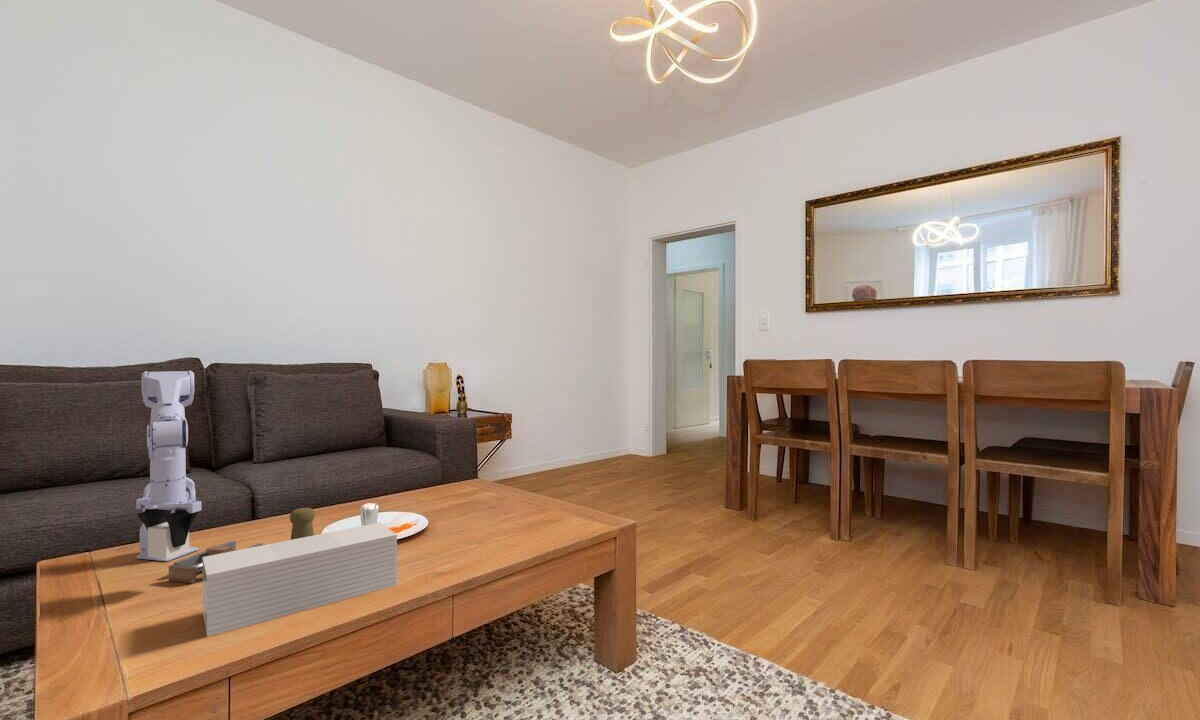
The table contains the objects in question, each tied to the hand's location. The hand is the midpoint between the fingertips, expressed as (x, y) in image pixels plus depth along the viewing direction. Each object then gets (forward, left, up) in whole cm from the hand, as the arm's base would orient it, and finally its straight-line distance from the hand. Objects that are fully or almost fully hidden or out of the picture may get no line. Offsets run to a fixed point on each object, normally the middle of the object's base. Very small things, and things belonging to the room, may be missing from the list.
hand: (169, 544), depth 111 cm
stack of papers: (+31, +2, -9) cm, 33 cm away
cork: (+13, +21, -9) cm, 27 cm away
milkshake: (+22, +34, -9) cm, 42 cm away
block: (0, 0, -2) cm, 2 cm away
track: (0, +11, -9) cm, 14 cm away
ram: (0, +7, -9) cm, 11 cm away
